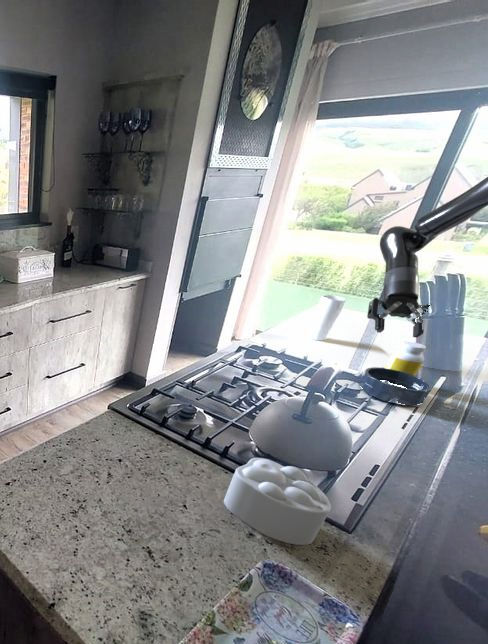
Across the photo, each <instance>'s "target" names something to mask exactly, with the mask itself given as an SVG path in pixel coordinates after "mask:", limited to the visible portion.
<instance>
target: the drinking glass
mask: <svg viewBox="0 0 488 644" xmlns="http://www.w3.org/2000/svg"><path fill="white" fill-rule="evenodd" d="M345 303H346V298H345V297H342V296H339V295H333V294H331V295H330V294H323V295H321V296H320V298H319V301H318V303H317V305H316V309H315V311H314V314H313V318H312V321H311V323H310V324H311V325H310V327H309V331H308V332H307V338H309V339H311V340H314V341H322V342H323V341H326V339H327V337H328V335H329V334H330V331H331V330H332V328H333V326H334V324H335V323H336V321H337V319H338V317H339V316H340V314H341V313H342V310H343V309H344V306H345Z"/></svg>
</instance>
